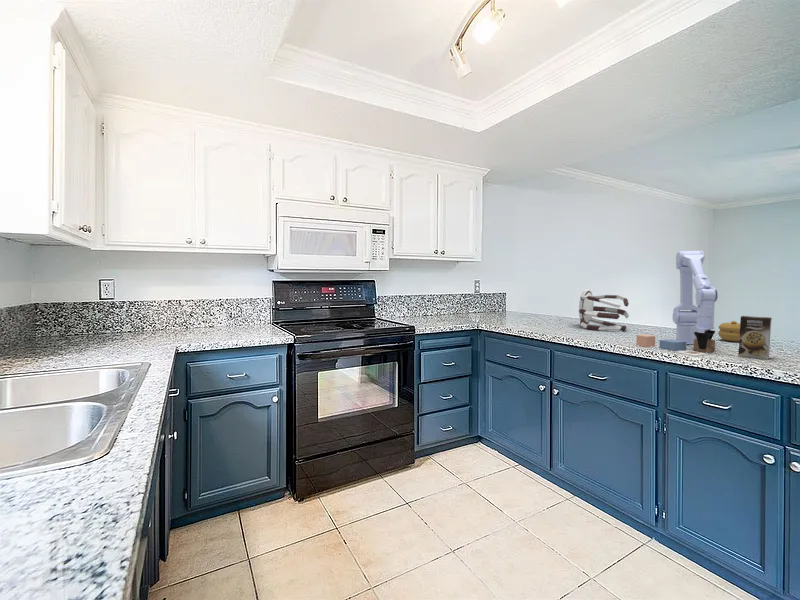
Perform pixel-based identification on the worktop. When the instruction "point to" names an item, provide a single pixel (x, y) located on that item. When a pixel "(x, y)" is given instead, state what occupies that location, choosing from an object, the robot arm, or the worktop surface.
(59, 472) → the worktop surface
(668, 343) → the blue block
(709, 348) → the walnut block
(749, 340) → the coffee box
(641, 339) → the peach block
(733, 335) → the pot
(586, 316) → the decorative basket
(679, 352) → the card
